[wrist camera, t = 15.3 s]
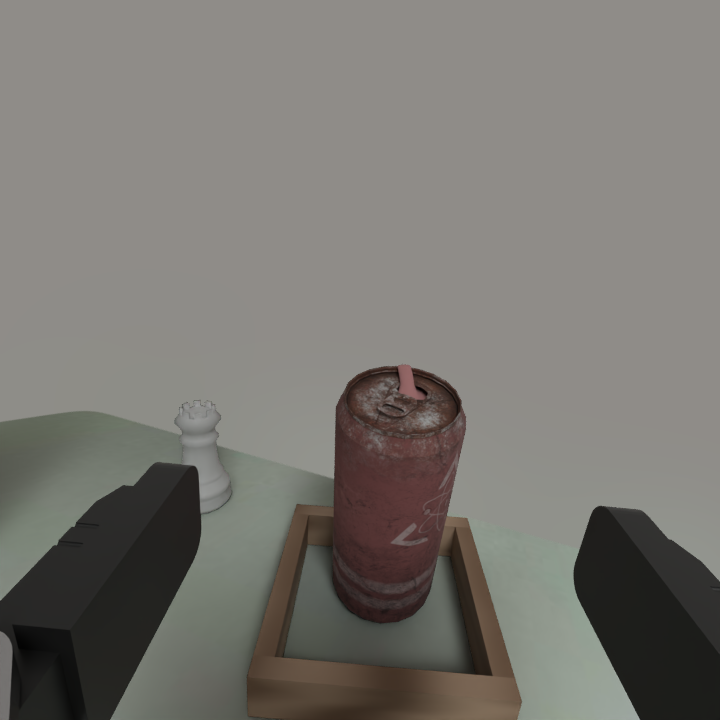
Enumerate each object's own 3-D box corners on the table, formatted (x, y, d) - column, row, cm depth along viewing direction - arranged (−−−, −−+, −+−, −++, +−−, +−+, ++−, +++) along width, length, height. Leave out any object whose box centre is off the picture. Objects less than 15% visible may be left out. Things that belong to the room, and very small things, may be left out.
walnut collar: (247, 716, 19) (246, 677, 19) (296, 533, 31) (296, 504, 30) (511, 740, 19) (521, 701, 18) (462, 546, 31) (467, 518, 30)
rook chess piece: (209, 476, 37) (204, 390, 34) (243, 497, 34) (241, 406, 32) (160, 501, 33) (151, 407, 31) (195, 526, 31) (188, 427, 28)
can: (418, 530, 30) (448, 358, 23) (439, 625, 24) (488, 437, 17) (331, 533, 29) (334, 357, 22) (333, 631, 24) (338, 439, 17)
